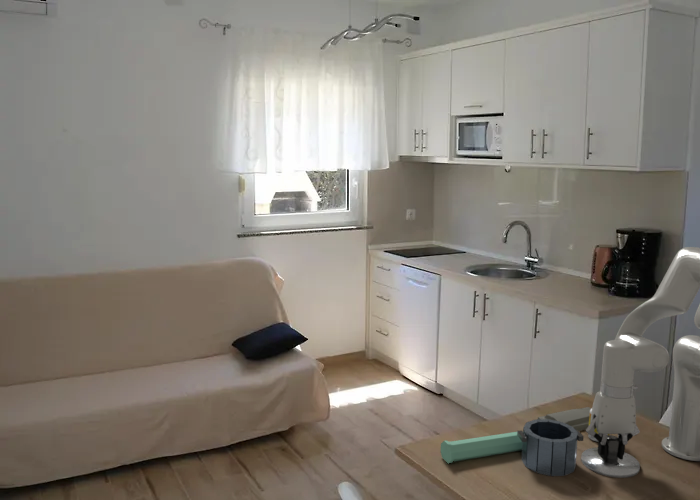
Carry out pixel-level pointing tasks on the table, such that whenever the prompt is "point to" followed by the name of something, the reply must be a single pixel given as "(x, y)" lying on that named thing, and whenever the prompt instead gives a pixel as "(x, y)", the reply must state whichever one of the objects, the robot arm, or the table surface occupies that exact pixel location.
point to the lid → (611, 461)
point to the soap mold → (572, 418)
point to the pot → (549, 447)
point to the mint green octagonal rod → (480, 447)
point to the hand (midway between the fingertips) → (610, 456)
